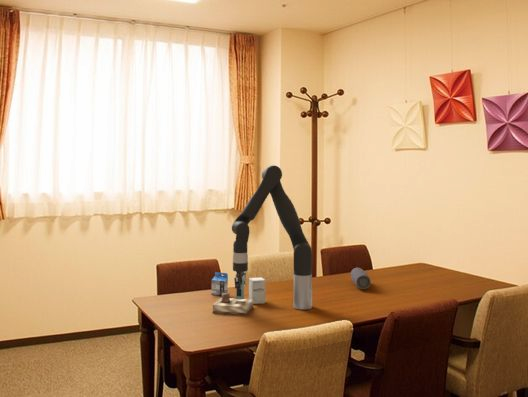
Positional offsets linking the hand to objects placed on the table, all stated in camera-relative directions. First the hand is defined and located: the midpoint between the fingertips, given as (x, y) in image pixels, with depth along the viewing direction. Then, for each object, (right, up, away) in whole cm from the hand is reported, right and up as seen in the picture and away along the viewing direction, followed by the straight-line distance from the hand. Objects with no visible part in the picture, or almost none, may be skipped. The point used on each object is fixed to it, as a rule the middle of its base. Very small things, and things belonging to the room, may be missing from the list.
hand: (240, 294), depth 256 cm
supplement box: (+8, -7, +16) cm, 19 cm away
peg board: (-4, -8, +1) cm, 9 cm away
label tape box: (-13, -6, +32) cm, 35 cm away
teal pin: (0, -2, 0) cm, 2 cm away
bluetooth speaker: (+70, -5, +51) cm, 87 cm away
